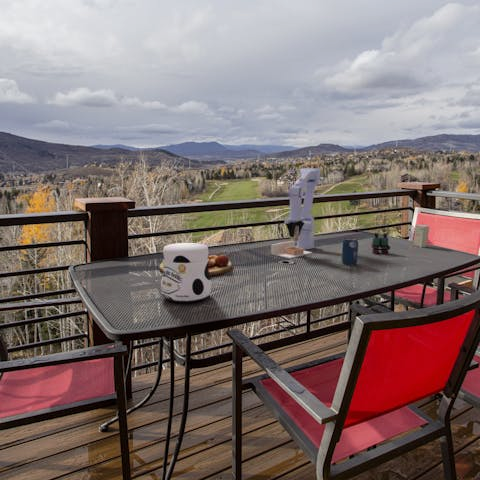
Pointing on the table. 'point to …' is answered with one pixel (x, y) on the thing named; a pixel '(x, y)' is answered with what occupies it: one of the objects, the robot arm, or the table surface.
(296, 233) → the beige cylinder
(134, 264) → the table surface
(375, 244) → the binoculars
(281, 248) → the cup bracket
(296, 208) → the robot arm
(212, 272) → the wooden plate with food
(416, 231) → the skincare box
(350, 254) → the soda can
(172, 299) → the milk container
